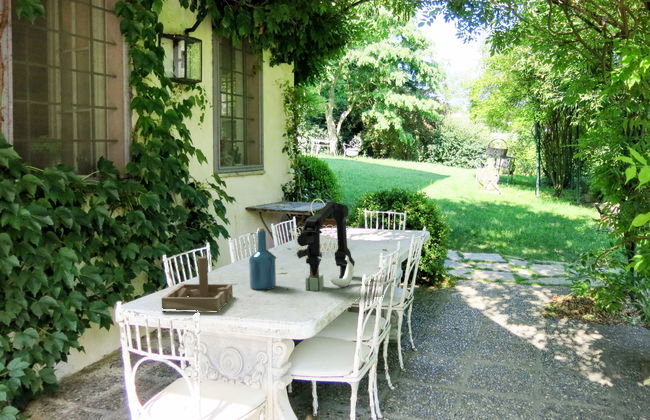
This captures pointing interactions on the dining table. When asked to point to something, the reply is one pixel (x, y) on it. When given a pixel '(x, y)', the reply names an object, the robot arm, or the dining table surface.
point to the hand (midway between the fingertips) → (314, 274)
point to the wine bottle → (262, 265)
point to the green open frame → (314, 283)
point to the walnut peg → (316, 273)
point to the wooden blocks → (201, 283)
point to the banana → (345, 275)
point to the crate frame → (197, 303)
